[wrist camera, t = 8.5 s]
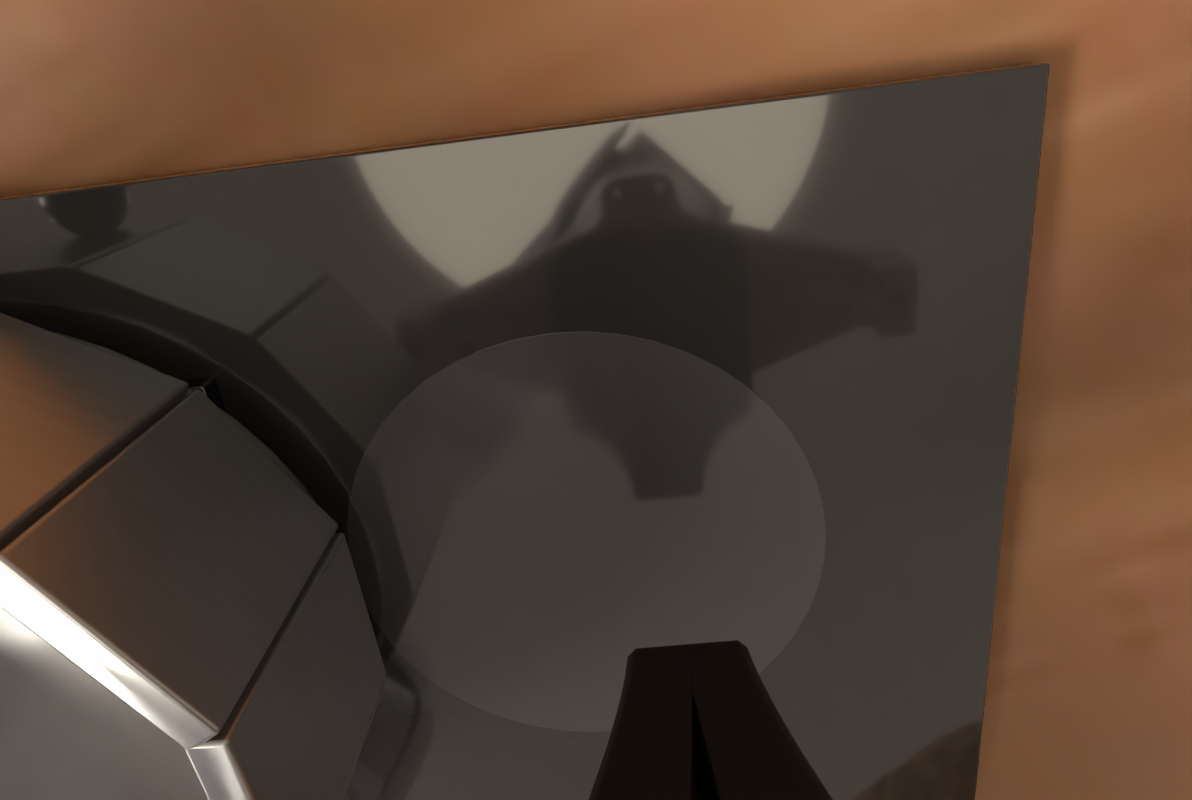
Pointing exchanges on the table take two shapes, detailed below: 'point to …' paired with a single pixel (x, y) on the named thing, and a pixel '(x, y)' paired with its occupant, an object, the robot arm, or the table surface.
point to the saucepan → (165, 594)
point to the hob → (617, 406)
